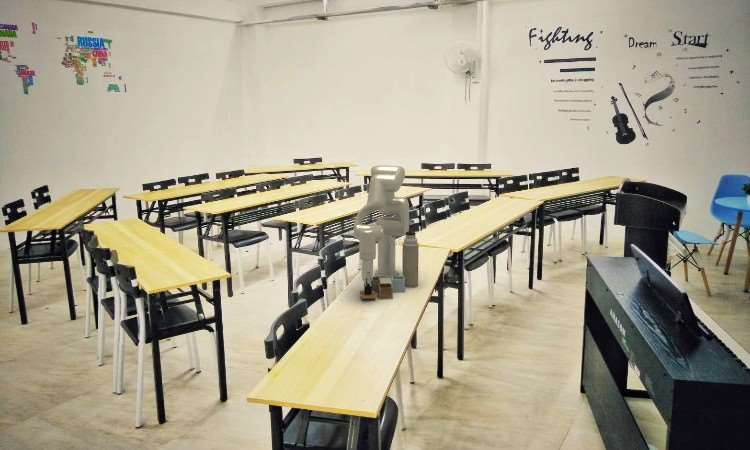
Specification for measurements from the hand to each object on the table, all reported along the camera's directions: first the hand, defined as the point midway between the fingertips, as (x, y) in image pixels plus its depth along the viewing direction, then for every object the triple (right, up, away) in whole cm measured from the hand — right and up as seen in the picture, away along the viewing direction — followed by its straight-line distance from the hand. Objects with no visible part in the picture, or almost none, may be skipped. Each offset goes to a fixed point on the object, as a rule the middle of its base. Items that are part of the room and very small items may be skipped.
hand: (367, 292), depth 253 cm
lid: (0, -2, 0) cm, 2 cm away
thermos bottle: (+21, +1, +19) cm, 28 cm away
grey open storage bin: (+3, -1, +11) cm, 11 cm away
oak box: (+8, -3, +3) cm, 9 cm away
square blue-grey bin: (+15, -1, +12) cm, 19 cm away
